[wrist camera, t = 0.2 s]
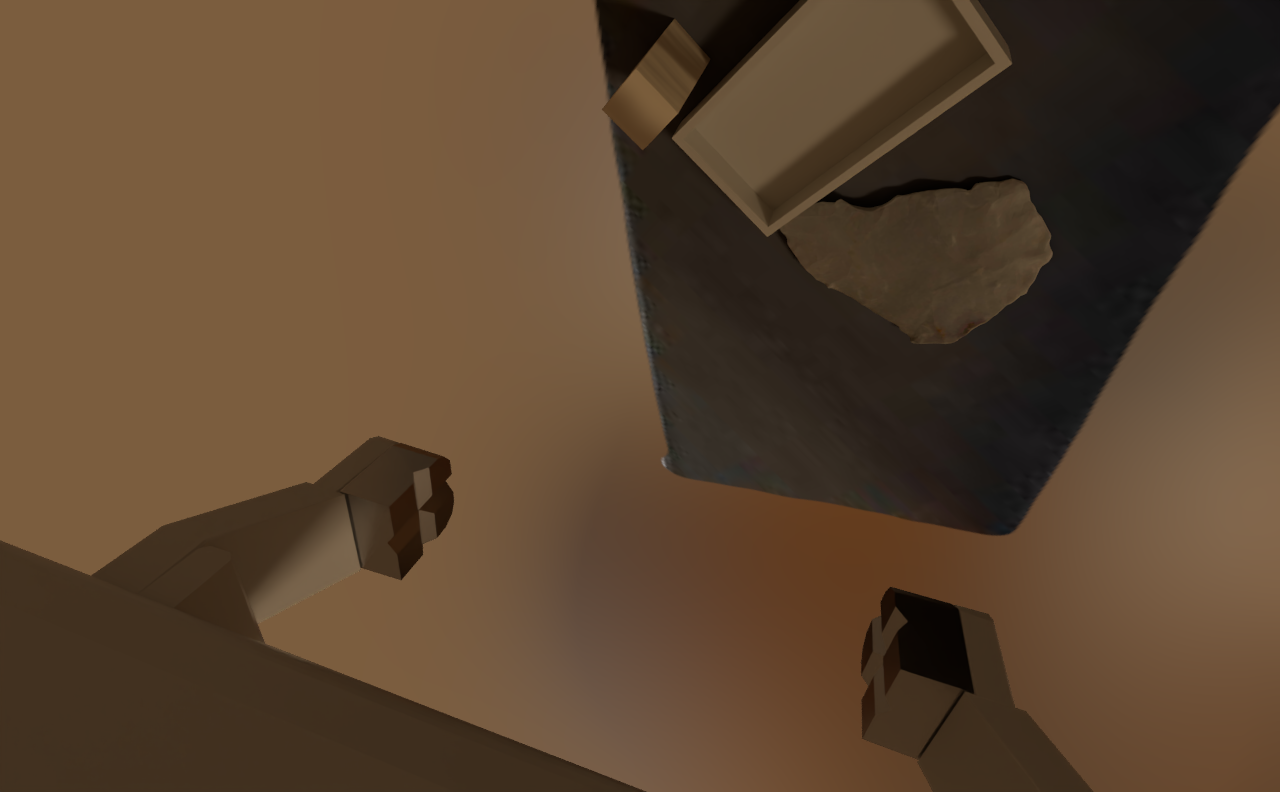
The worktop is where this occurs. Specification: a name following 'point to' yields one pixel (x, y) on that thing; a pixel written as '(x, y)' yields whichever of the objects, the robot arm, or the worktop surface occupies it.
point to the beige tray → (835, 97)
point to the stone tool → (928, 255)
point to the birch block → (657, 85)
